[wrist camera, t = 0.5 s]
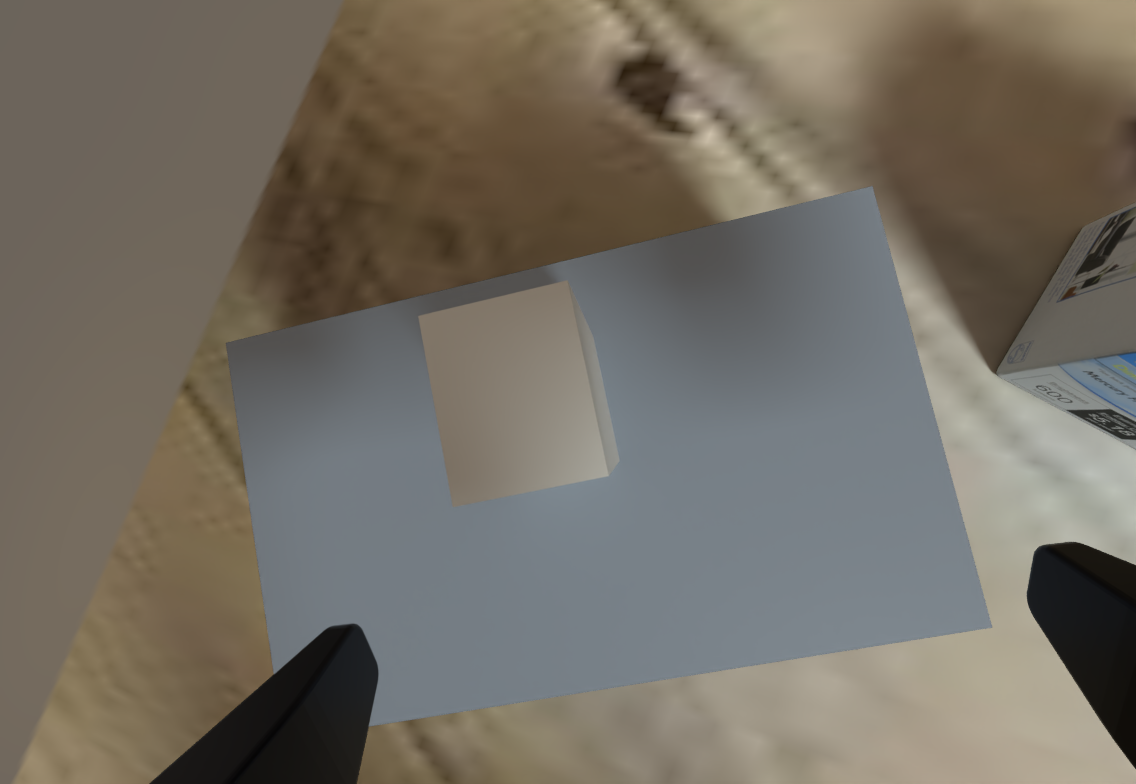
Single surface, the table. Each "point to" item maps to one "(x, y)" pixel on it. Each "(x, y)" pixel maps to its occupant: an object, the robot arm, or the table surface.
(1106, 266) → the light bulb box
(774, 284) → the carton lid
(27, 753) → the table surface
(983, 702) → the table surface
